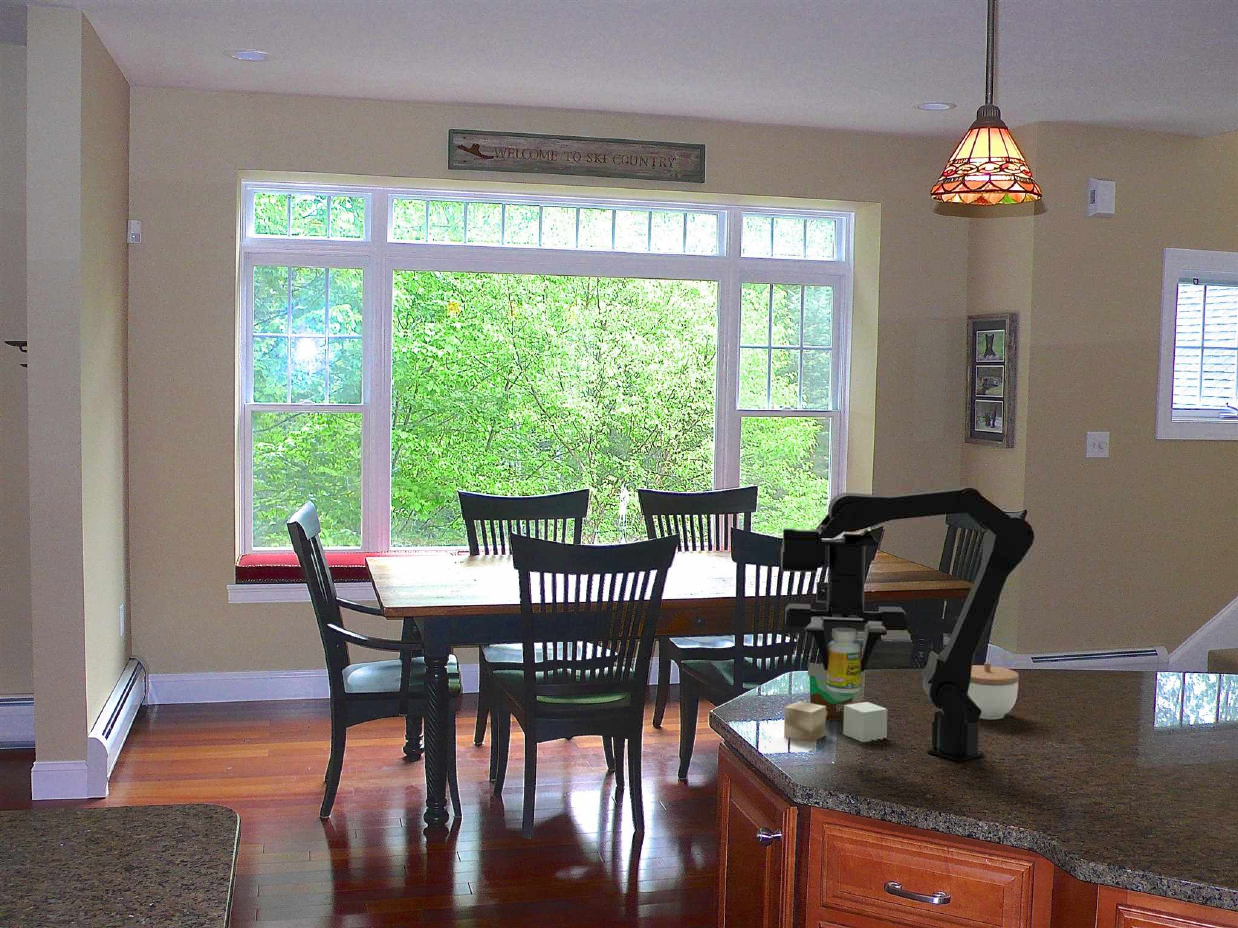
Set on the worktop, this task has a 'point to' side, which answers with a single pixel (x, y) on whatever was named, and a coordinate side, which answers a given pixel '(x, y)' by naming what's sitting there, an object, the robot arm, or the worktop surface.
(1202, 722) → the worktop surface
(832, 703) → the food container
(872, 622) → the robot arm
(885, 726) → the white cube
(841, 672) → the supplement bottle
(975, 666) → the lidded jar
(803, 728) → the maple block
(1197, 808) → the worktop surface
